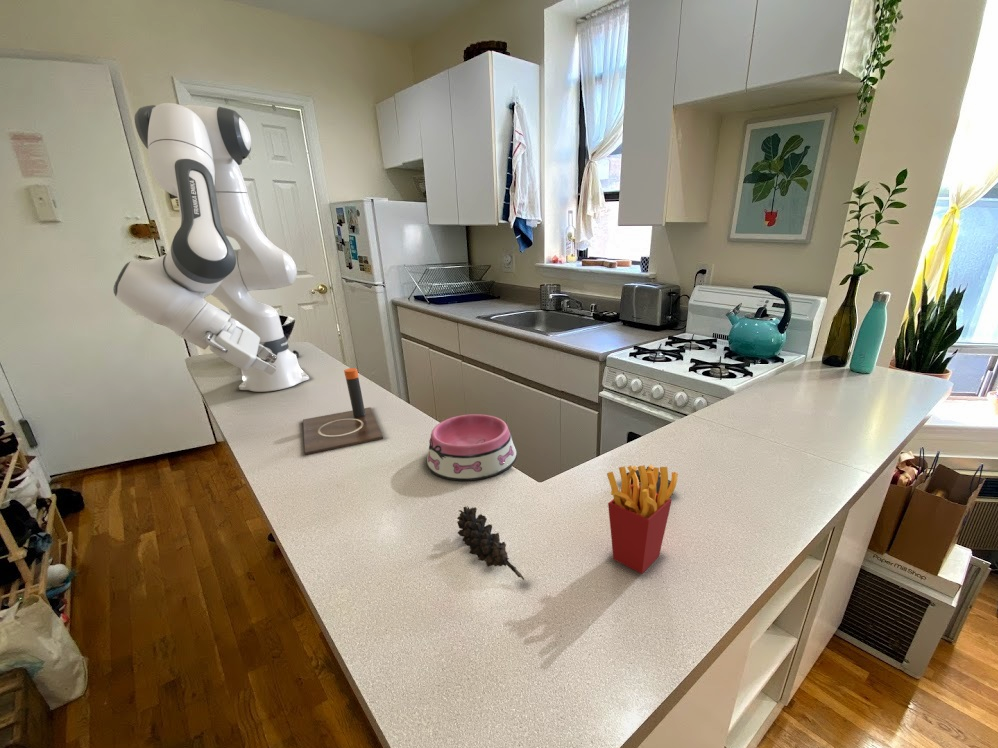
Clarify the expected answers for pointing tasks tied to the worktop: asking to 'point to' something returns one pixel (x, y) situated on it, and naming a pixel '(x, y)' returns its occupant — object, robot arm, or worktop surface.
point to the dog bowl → (470, 448)
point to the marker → (355, 392)
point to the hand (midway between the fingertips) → (275, 365)
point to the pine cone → (483, 539)
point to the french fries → (639, 515)
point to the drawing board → (339, 431)
